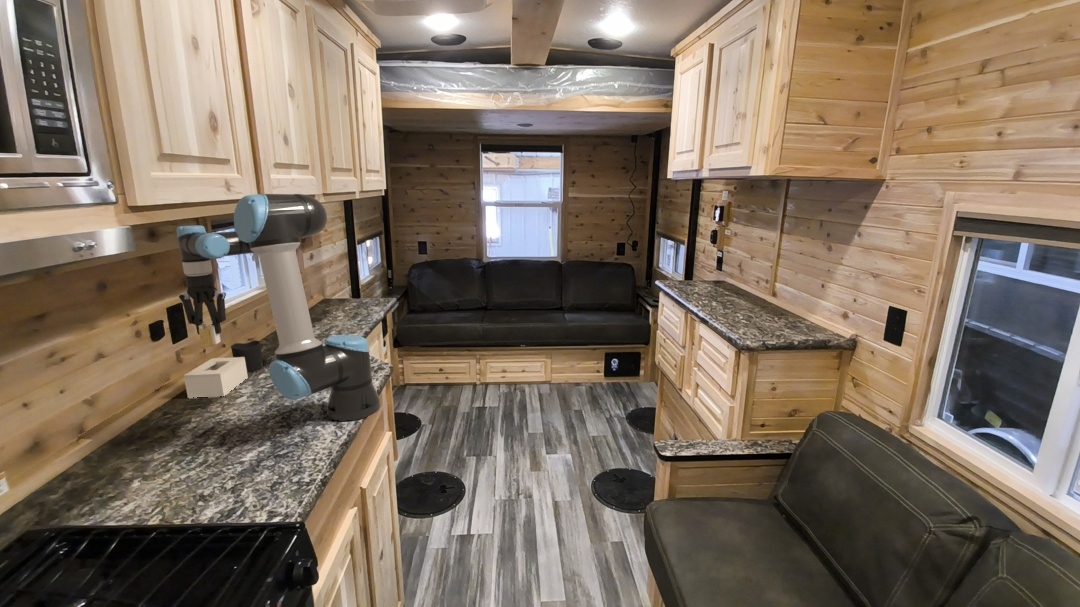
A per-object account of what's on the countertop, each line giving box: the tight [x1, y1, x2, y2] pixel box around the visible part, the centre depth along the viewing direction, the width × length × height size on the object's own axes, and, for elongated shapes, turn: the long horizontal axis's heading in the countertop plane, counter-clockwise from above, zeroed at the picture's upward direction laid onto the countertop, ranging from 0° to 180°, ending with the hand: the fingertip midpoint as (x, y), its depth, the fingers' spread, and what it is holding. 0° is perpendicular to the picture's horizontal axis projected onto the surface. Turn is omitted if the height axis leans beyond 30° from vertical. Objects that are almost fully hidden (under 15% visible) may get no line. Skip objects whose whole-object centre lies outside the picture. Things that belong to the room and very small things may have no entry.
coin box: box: [183, 356, 249, 399], centre depth 161 cm, size 16×11×8 cm
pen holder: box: [230, 340, 264, 374], centre depth 177 cm, size 9×9×10 cm
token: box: [199, 324, 222, 348], centre depth 158 cm, size 6×3×6 cm, turn 6°
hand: (211, 343), depth 158 cm, fingers closed on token, 3 cm apart
